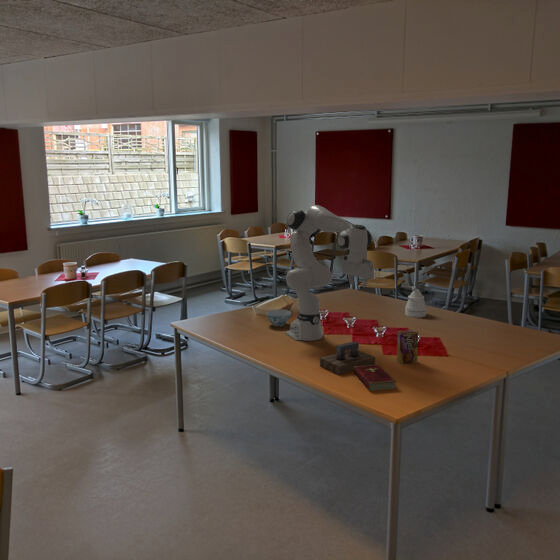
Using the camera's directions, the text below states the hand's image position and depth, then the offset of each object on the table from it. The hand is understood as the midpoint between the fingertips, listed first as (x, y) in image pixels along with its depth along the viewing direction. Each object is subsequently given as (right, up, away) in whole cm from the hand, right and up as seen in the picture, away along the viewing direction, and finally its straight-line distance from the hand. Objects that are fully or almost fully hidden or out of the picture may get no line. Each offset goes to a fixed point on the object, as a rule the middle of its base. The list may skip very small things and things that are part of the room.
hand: (357, 285), depth 279 cm
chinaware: (-39, -25, +56) cm, 73 cm away
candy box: (+22, -37, -11) cm, 44 cm away
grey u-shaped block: (-7, -38, -14) cm, 41 cm away
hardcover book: (+2, -42, -34) cm, 54 cm away
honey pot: (+47, -20, +75) cm, 91 cm away
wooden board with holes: (-7, -38, -14) cm, 41 cm away
